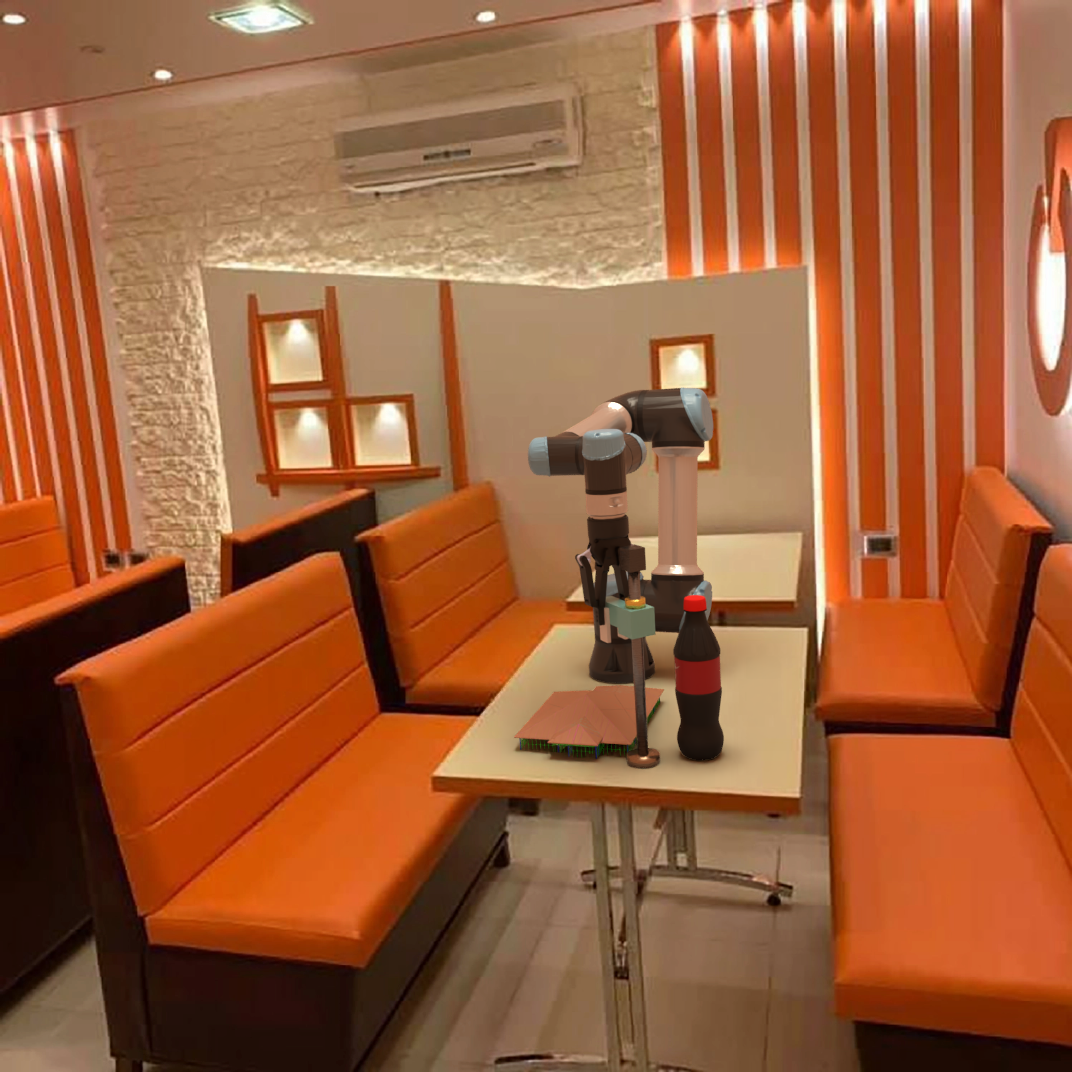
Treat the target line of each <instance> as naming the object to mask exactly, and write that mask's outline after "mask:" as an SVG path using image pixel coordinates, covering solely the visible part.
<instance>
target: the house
mask: <svg viewBox="0 0 1072 1072" xmlns="http://www.w3.org/2000/svg"><path fill="white" fill-rule="evenodd" d="M664 691H665V689H664V688H656V687H655V688H653V687H646V686H645V693H646V712H647V719H648V720H651V719H652V718H653V716H654V715H653V714H655V713H654V712H656V708H657V709H658V707H659V706H658V705H660V704H661V696H662V694H663V692H664ZM659 703H660V704H659ZM652 715H653V716H652ZM650 718H651V719H650ZM647 724H649V721H647ZM513 739H519V749H520V750H521V751H522V749H523V748H524V747H526V745H528V748H530V743H529V740H531V745H532V748H534V745H535V746H536V747H535V748H538V745H539V746H540V748H542V743H541V741H543V743H544V744H543V746H544V748H546V743H545V741H547V746H548V748H550V746H552V747H554V750H555V752H557V753H562V750H563V749H564V750H563V751H564V753H565V752H566V749H565V748H567V751H568V753H567V756H568V758H569V757H570V756H571V754H572V755H573V758H574V757H575V756H574V753H573V752H577V753H576V756H577V758H578V757H579V756H578V754H579V753H578V752H580V754H581V755H580V756H581V757H583V753H582V752H584V753H585V755H587V752H588V753H595V760H596V759H598V757H599V756H600V755H601V752H603V756H604V755H605V753H604V752H605V745H606V750H607V754H609V751H608V750H609V748H608V747H609V746H608V745H609V744H611V746H610V747H611V748H610V750H611V751H613V750H614V751H618V750H619V751H621V748H617V745H623V746H625V745H626V749H625V748H623V752H624V753H623V754H624V757H626V753H627V752H628V751H629V750H632V749H635V748H634V747H635V746H636V745H637V740H636V739H637V734H636V715H635V696H634V685H622V684H618V685H617V684H616V685H614V684H613V685H596V686H595V687H594V688H593V690H591V689H590V690H589V689H586V690H565V691H563V690H562V691H553V692H552V693H551V694H550V695H549V696H548V698H547V699H546V700H545V701H544V702H543V704H542V705H541V706H540V707H539V708H538V709H537V710H536V712H534V714H532V716H531V717H530V718H529V719H528V721H526V723H525V724H524V725H523V726H522V727H521V728H520V730H518V732H517V733H516V734H515V735H514V736H513ZM533 740H535V743H536V744H535V743H534V741H533ZM537 740H539V743H538V742H537ZM533 743H534V744H533ZM550 744H551V745H550ZM614 744H615V745H614ZM635 744H636V745H635ZM612 745H614V746H615V749H614V748H613V747H612ZM556 747H557V748H556ZM573 747H584V750H582V749H580V750H578V749H576V750H575V749H573ZM587 747H588V748H589V750H587ZM603 747H604V748H603ZM594 749H595V750H594ZM602 749H603V750H602ZM591 750H592V751H591ZM625 751H626V753H625ZM619 754H620V756H621V755H622V754H621V752H619ZM621 757H622V756H621Z"/></svg>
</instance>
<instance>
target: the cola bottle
mask: <svg viewBox="0 0 1072 1072" xmlns="http://www.w3.org/2000/svg"><path fill="white" fill-rule="evenodd" d="M683 610H684V611H685V612H686V614H685V619H684V623H683V625H682V627H681V630H680V632H679V633H677V634H678V635H677V637H676V640H675V643H674V645H673V650H672V651H673V656H674V657H673V658H674V674H675V676H674V679H675V681H674V682H675V688H674V691H675V692H674V693H675V694H674V695H675V698H676V704H677V708H678V713H679V717H680V723H679V727H678V729H677V733H676V742H677V745H678V746H677V747H678V750H679V751H680V753H681V755H682V756H684V757H685V758H687V759H689V760H693V761H700V762H701V761H709V760H712V759H715V758H717V757H718V756H720V754H721V753H722V750H723V747H724V741H725V737H724V736H725V735H724V732H723V729H722V726H721V723H720V720H719V719H720V710H721V701H722V693H723V687H722V679H721V678H722V675H721V674H722V673H721V656H720V655H721V647H720V644H719V642H718V640H717V637H716V634H715V633H714V631H713V629H712V627H711V625H710V623H709V622H708V620H707V618H706V614H705V611H706V610H707V606H706V599H705V597H704V596H700V595H691V596H687V597H685V598H684V609H683Z"/></svg>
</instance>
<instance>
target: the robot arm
mask: <svg viewBox="0 0 1072 1072" xmlns="http://www.w3.org/2000/svg"><path fill="white" fill-rule="evenodd" d="M713 418H714V417H713V412H712V407H711V404H710V402H709V398H708V396H707V394H706V393H705V392H704V390H703V389H701V388H695V387H676V388H675V387H673V388H660V389H657V388H656V389H638V390H633V391H628V392H625V393H623V394H620V395H618V396H614V397H612V398H610V399H608V400H606V401H604V402H602V403H601V404H599V405H598V406H596V407H595V408H594V410H593V411H592V412H591V414H590V415H589V416H588V417H586V418H584V419H582V420H581V421H579V422H577V423H576V424H574V425H573V426H571V427H569V428H567V429H565V430H563V431H562V432H560V433H558V434H557V435H555V436H547V435H546V436H539V437H534V438H533V439H532V440H531V441H530V443H529V445H528V450H527V461H528V466H529V467H528V468H529V469H530V471H531V472H532V473H533V474H534V475H536V476H543V477H545V476H546V477H550V478H551V477H554V476H555V477H556V476H563V477H564V476H584V487H585V488H584V489H585V491H584V492H585V508H586V510H585V511H586V514H587V515H588V518H587V519H586V524H587V526H586V527H587V537H588V543H587V544H588V545H587V549H586V550H585V551H584V552H582V553H581V554H580V553H577V554H575V556H574V559H575V561H576V563H577V565H578V567H579V573H580V580H581V587H582V595H583V602H584V604H585V605H586V606H589V607H591V608H592V613H593V614H592V615H593V627H594V645H593V648H592V649H593V650H592V652H591V653H592V654H591V656H590V659H589V665H588V671H589V672H588V673H589V677H590V678H591V679H593V680H595V681H597V682H601V683H602V682H603V683H607V684H628V683H634V677H633V658H632V639H630V638H628V637H625V636H623V635H621V634H619V633H618V627H615V626H613V625H611V624H610V615H609V608H607V607H605V602H606V597H608V596H613V597H616V598H618V599H621V600H623V601H625V598H627V597H629V582H628V572H627V571H624V570H621V558H620V547H625V546H631V545H636V544H632V541H631V539H630V538H629V535H630V534H629V533H630V525H629V524H630V523H629V516H628V515H627V512H628V511H629V509H628V508H629V507H628V493H627V492H628V489H627V488H628V487H627V485H628V484H627V475H628V474H632V473H634V472H636V471H637V470H638V469H639V468H641V467H642V466H643V465H644V464H645V461H646V458H647V451H648V450H647V446H646V444H645V443H651V450H652V452H653V453H654V454H655V455H656V456H657V457H658V491H657V492H658V500H657V502H658V505H657V506H658V509H657V510H658V511H657V512H658V514H657V515H658V516H657V517H658V518H657V519H658V520H657V521H658V523H657V524H658V528H657V529H658V531H657V533H658V538H657V541H658V542H657V545H658V546H657V547H658V548H657V550H658V551H657V552H658V553H657V555H658V557H657V562H658V563H657V565H656V566H655V568H654V569H653V570H651V573H650V574H651V575H650V576H651V577H650V578H651V579H644V577H645V576H644V575H643V572H642V571H639V574H640V594H641V596H642V597H645V603H646V604H647V605H650V606H652V607H654V614H655V633H675V634H676V633H677V634H679V632H680V630H681V627H682V625H683V623H684V619H685V614H686V612H685V611H684V610H683V609H684V598H685V597H687V596H691V595H700V596H704V597H705V599H706V606H707V610H706V611H705V614H706V618H707V621H708V619H709V618H710V617H709V616H710V614H711V613H710V612H711V611H712V610H711V608H712V601H713V591H712V590H713V589H712V588H713V587H712V584H711V582H710V581H708V580H705V574H704V571H703V570H702V568H700V566H698V465H699V464H698V463H699V461H698V458H699V456H701V454H702V452H704V451H705V447H706V446H705V442H708V441H711V439H712V438H713V436H714V432H713V431H714V420H713ZM637 545H638V544H637ZM638 546H640V545H638ZM591 557H592V559H593V561H594V569H595V575H594V576H593V570H592V566H591V562H592V559H591ZM610 567H612V569H613V573H610V574H609V572H610ZM593 577H594V578H593ZM648 644H649V643H648V642H647V636H646V637H643V653H644V673H645V680H647V679H649V678H651V677H653V676H654V675H655V673H656V663H655V660H654V658H653V654H652V652H651V649H650V647H649V645H648Z"/></svg>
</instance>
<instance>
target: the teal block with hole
mask: <svg viewBox="0 0 1072 1072" xmlns="http://www.w3.org/2000/svg"><path fill="white" fill-rule="evenodd" d="M605 607H607V608H609V615H610V624H611V625H613V626H615V627H618V633H619V634H621V635H623V636H625V637H628V638H630V639H637V638H642V637H646V638H647V637H651V636H656V632H655V614H654V607H652V606H650V605H647V604H646V607H645V608H642V609H634V610H632V609H627V608H625V601H623V600H621V599H618V598H616V597H613V596H608V597H606V602H605Z"/></svg>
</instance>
